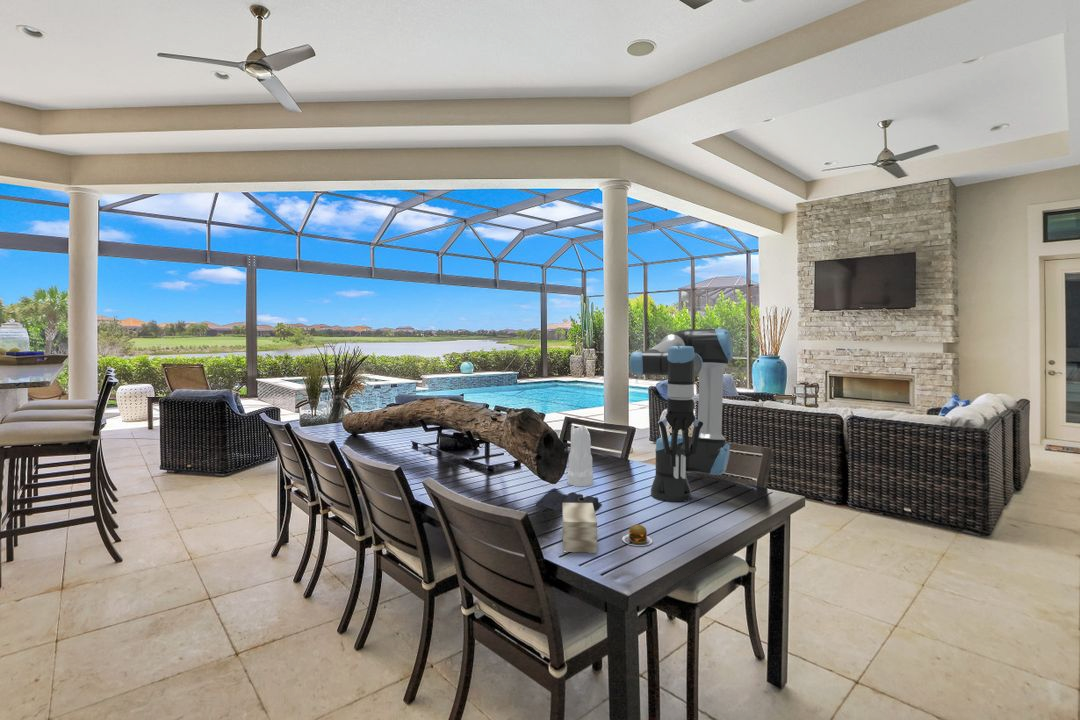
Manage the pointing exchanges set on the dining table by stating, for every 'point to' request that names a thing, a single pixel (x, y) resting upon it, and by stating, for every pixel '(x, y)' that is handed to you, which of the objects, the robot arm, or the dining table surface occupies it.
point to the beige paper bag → (579, 527)
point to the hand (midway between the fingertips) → (679, 477)
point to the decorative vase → (580, 458)
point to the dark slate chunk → (566, 500)
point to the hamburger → (637, 535)
